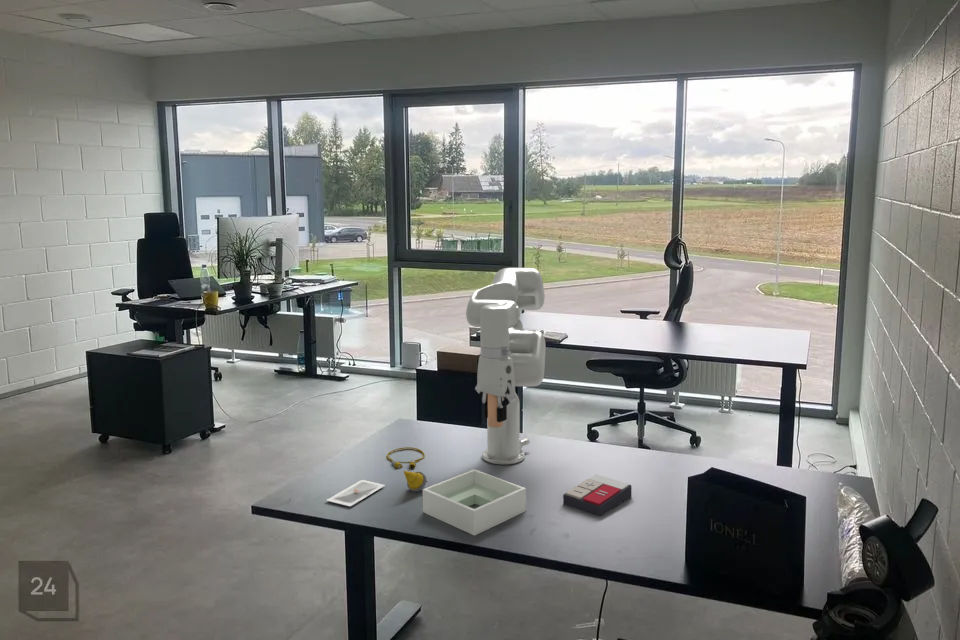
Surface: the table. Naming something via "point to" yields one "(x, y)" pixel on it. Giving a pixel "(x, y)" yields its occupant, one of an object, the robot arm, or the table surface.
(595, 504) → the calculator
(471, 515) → the holed box
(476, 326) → the robot arm
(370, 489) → the white grey flat rectangle
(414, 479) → the yellow tapered spiral part
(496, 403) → the peg
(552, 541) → the table surface
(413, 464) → the extension cord
